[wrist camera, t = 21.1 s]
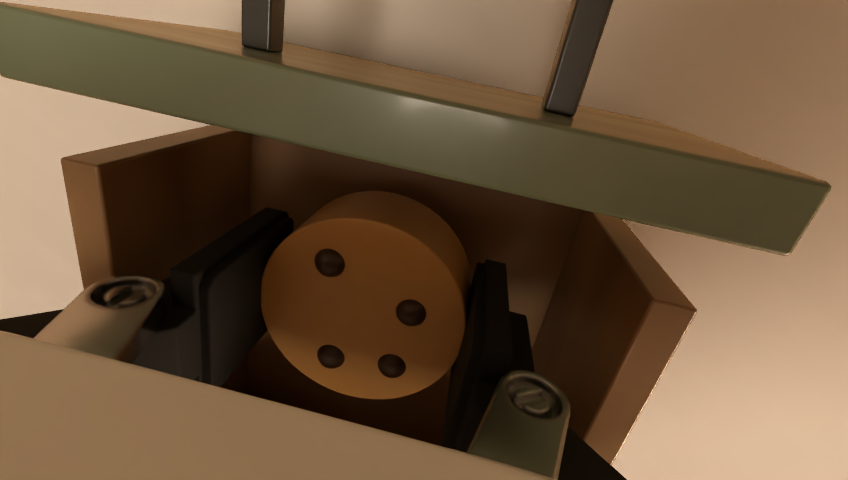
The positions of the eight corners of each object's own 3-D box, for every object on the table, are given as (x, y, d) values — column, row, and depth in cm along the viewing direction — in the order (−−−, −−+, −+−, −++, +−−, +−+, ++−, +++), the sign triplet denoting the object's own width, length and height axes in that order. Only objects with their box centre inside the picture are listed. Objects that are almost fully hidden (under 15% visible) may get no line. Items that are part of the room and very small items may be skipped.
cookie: (291, 326, 13) (251, 379, 11) (302, 170, 11) (256, 197, 9) (449, 366, 13) (440, 428, 11) (490, 214, 11) (491, 253, 9)
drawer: (223, -266, 10) (-196, -782, 4) (783, -174, 9) (1355, -637, 3) (228, 381, 19) (99, 537, 13) (519, 459, 18) (533, 667, 12)
